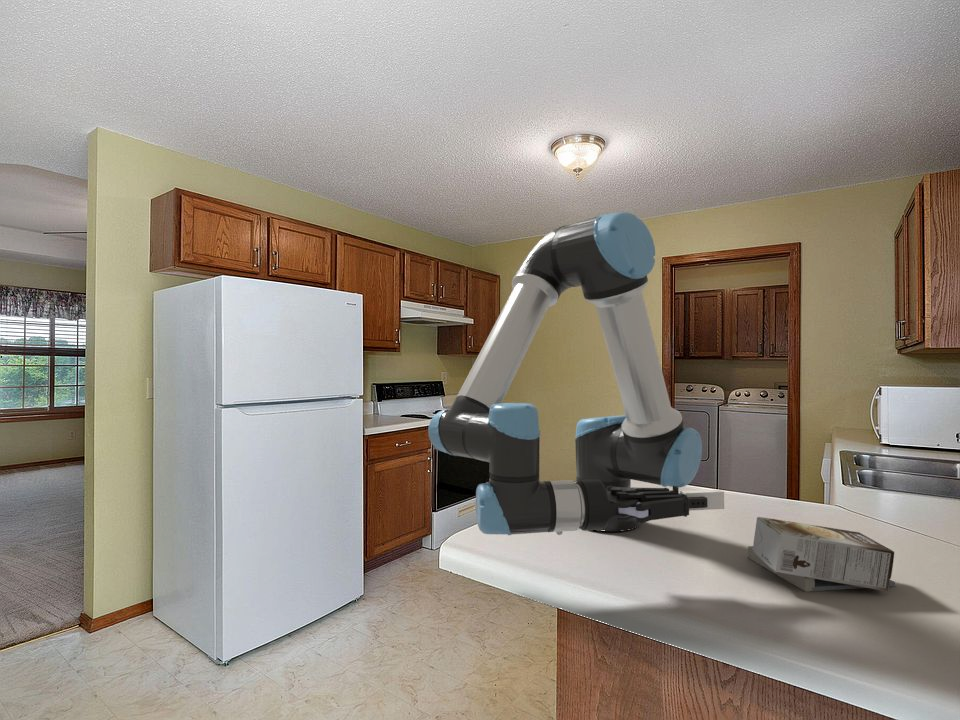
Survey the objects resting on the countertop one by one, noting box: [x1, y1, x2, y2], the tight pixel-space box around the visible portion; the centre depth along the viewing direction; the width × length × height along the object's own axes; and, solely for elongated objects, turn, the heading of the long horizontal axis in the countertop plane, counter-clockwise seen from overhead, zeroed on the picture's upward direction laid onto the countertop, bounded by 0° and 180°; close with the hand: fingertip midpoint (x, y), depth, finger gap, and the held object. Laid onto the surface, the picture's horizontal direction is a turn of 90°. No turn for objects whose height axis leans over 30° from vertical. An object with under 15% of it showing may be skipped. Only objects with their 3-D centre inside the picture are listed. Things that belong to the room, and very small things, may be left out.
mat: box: [747, 545, 896, 593], centre depth 87 cm, size 14×15×2 cm
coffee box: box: [752, 516, 895, 592], centre depth 83 cm, size 9×6×16 cm
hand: (721, 499), depth 83 cm, fingers closed
